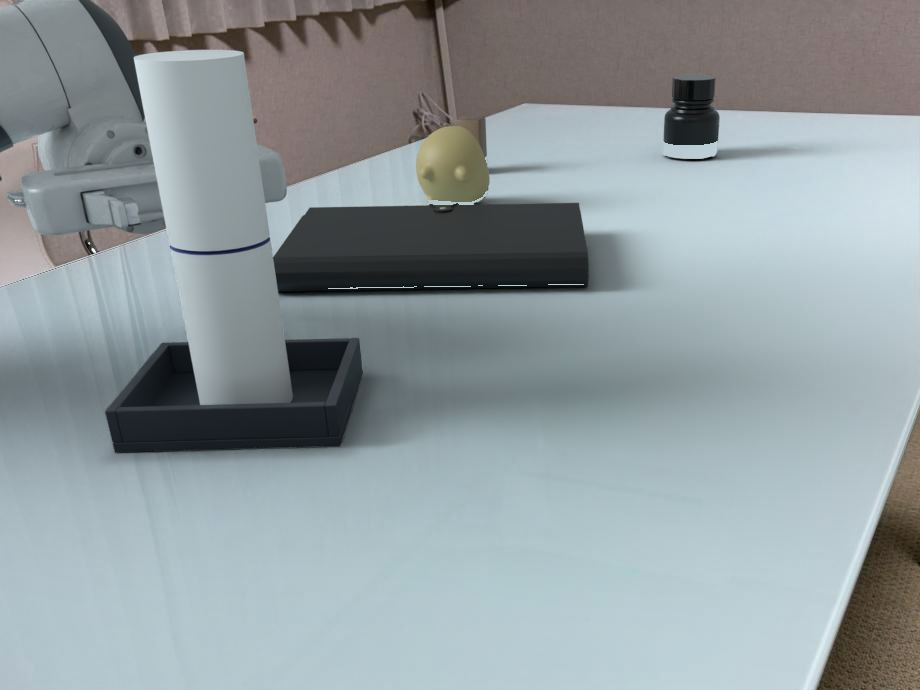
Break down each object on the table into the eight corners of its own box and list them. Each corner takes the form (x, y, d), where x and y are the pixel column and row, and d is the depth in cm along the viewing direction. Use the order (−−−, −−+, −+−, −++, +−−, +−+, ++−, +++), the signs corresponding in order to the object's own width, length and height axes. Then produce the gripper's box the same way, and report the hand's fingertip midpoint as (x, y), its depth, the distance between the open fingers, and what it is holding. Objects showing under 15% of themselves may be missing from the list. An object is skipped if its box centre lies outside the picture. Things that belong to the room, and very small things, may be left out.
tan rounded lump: (491, 235, 144) (505, 170, 147) (475, 180, 133) (490, 111, 136) (423, 230, 146) (438, 166, 149) (401, 175, 135) (418, 107, 138)
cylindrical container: (208, 425, 79) (139, 63, 66) (194, 392, 85) (128, 53, 72) (301, 408, 81) (252, 56, 69) (282, 378, 87) (233, 47, 74)
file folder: (578, 199, 128) (588, 255, 108) (578, 232, 130) (588, 294, 110) (309, 203, 128) (267, 261, 108) (313, 237, 130) (273, 300, 110)
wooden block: (488, 169, 166) (486, 115, 162) (481, 174, 163) (478, 119, 159) (463, 168, 167) (461, 115, 163) (456, 173, 163) (453, 119, 159)
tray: (114, 452, 77) (104, 411, 75) (168, 379, 90) (161, 342, 88) (340, 446, 77) (335, 405, 76) (363, 374, 90) (359, 337, 88)
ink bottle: (729, 156, 173) (735, 77, 167) (697, 164, 167) (702, 82, 161) (682, 149, 179) (686, 72, 173) (649, 156, 173) (652, 78, 167)
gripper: (-10, 152, 81) (37, 180, 72) (240, 124, 92) (310, 145, 82) (12, 234, 84) (59, 272, 75) (251, 198, 95) (319, 227, 85)
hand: (192, 205), depth 79 cm, fingers open, 8 cm apart
